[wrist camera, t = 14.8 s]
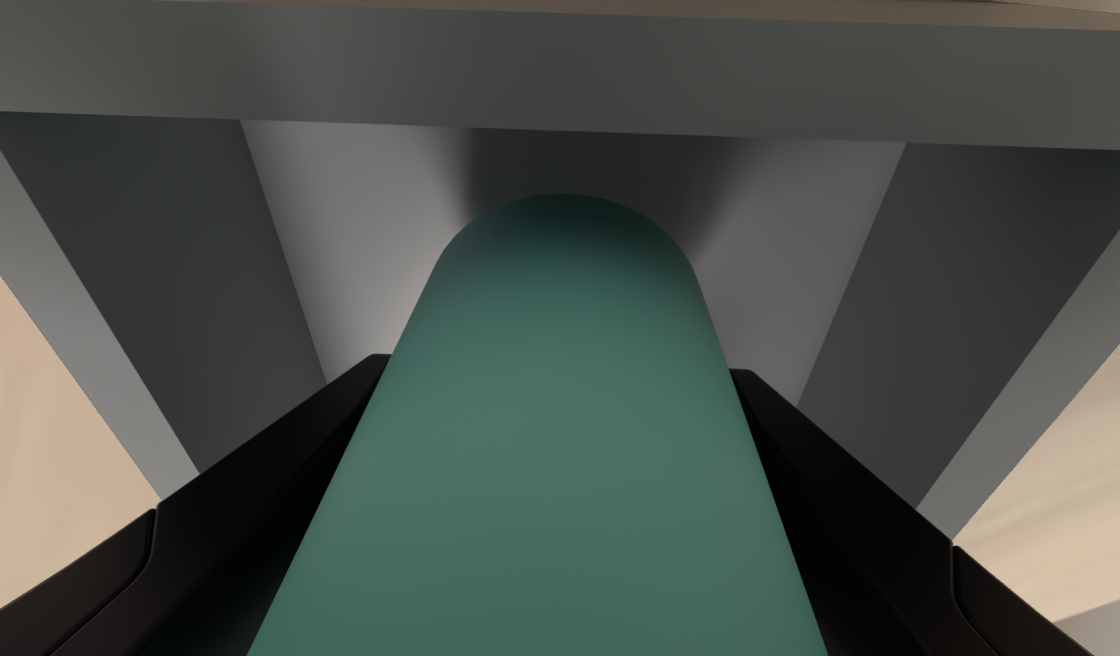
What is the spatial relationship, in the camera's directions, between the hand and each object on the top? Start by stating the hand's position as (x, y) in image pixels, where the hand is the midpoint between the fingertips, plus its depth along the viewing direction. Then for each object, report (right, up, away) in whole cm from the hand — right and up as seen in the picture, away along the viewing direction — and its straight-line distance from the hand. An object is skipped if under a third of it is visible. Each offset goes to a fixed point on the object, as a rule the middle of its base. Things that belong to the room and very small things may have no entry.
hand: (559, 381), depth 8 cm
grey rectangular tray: (0, -1, +6) cm, 6 cm away
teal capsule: (0, +1, +1) cm, 2 cm away
